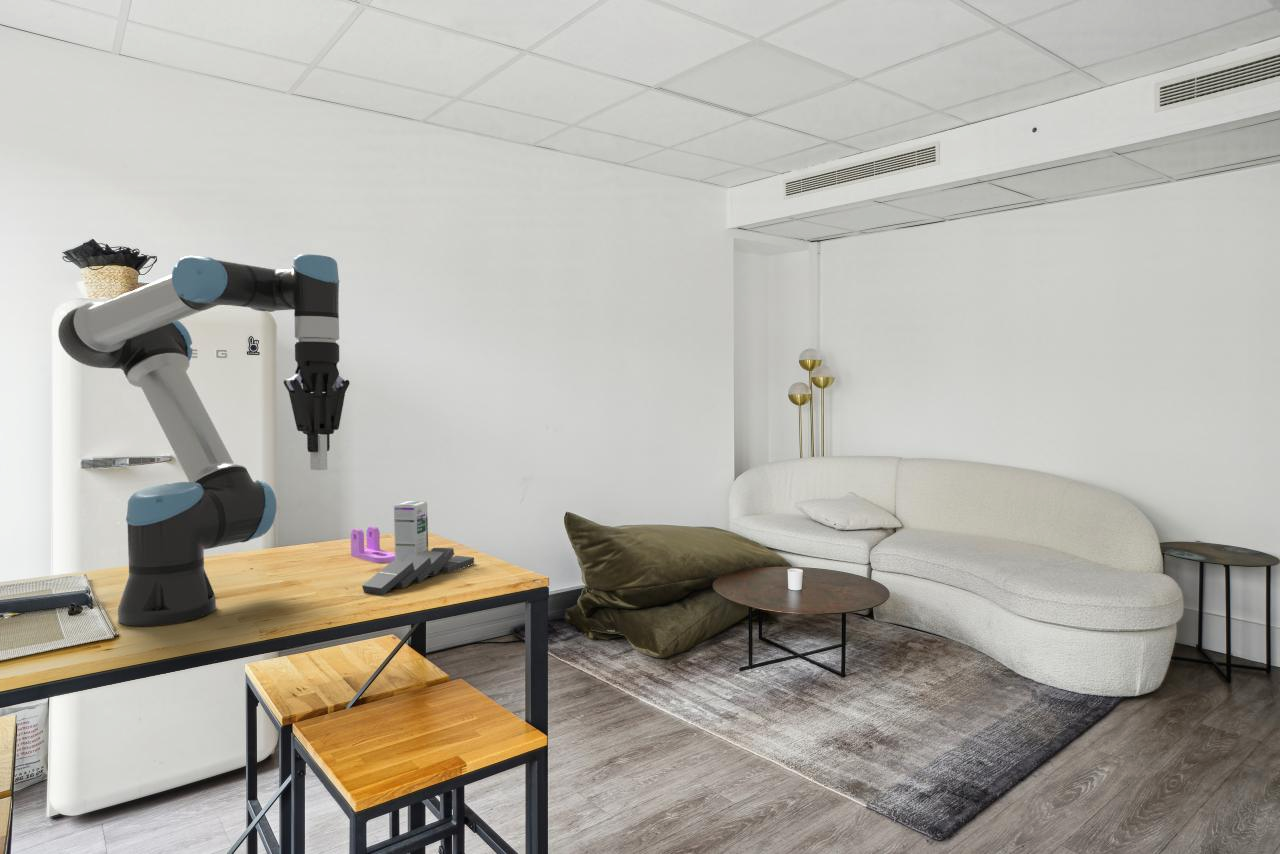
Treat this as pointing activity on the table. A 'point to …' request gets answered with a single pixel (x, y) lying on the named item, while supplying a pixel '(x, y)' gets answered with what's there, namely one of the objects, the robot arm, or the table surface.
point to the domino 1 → (388, 577)
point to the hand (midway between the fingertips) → (318, 469)
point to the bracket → (369, 546)
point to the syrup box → (410, 529)
